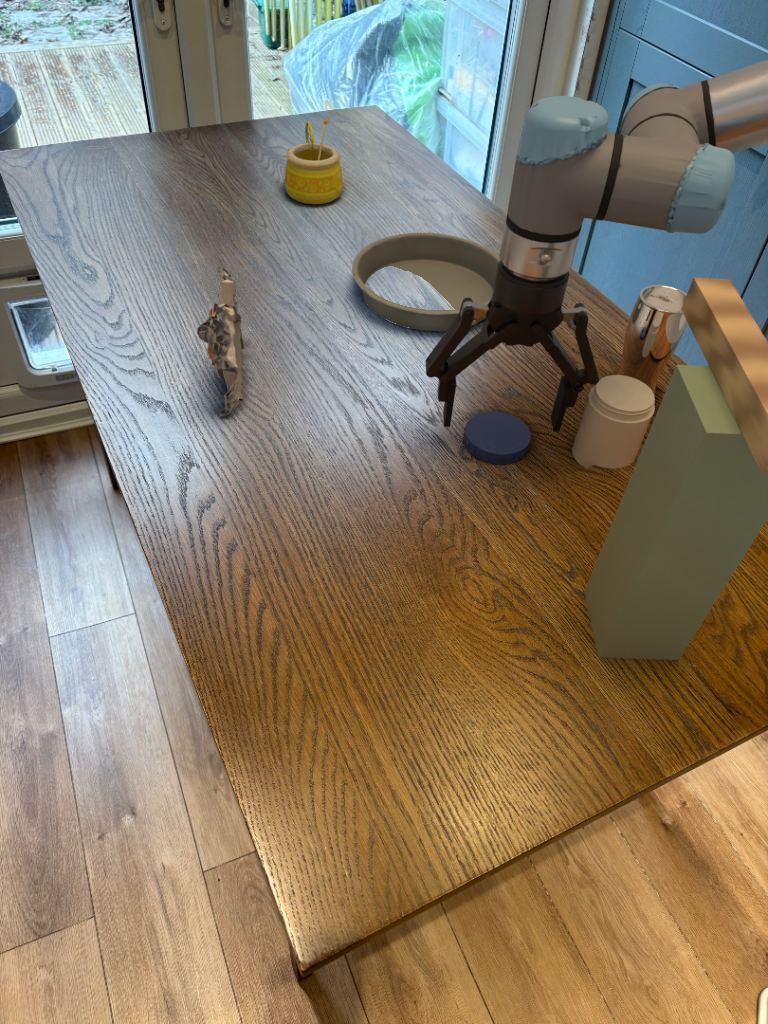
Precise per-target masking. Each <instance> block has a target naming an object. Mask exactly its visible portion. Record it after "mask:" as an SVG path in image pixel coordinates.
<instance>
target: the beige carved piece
mask: <svg viewBox="0 0 768 1024" xmlns="http://www.w3.org/2000/svg"><path fill="white" fill-rule="evenodd" d="M216 267H217V268H216V269H217V272H218V274H219V276H220V277H221V278H222V279H223V280H222V281H220V304H217V303H216V302H214V303H213V305H212V307H211V308H210V310H209V314H208V318H207V319H206V320H205V321H204V322H202V323H201V324H200V325H199V326H198V327H197V329H196V330H197V331H196V334H197V335H198V338H199V340H201V341H203V342H204V343H206V344H208V345H207V348H206V351H207V354H208V357H209V359H210V360H211V366H213V367H214V366H215V370H216V374H217V377H218V379H221V378H222V377H223V379H224V381H225V385H226V390H227V391H226V393H225V394H223V398H224V406H225V407H224V408H223V409H221V411H220V413H219V418H221V419H223V418H225V417H226V416H228V415H231V413H232V411H234V410H235V409H236V408H237V407H238V406H239V405H240V404H241V400H239V399H243V400H244V396H243V397H242V394H241V392H242V393H243V385H242V383H243V372H242V366H243V363H242V354H243V353H242V350H244V339H243V332H242V326H241V325H242V322H243V321H242V316H241V315H240V314H239V313H238V309H239V307H238V304H239V301H238V299H237V298H236V296H237V294H236V293H237V290H236V287H237V284H236V283H237V282H235V281H234V279H233V278H232V274H231V273H230V272H228V271H227V270H226V269H225V268H224V267H220V266H216ZM227 273H228V274H227ZM238 400H239V401H238ZM228 413H229V414H228Z"/></svg>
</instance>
